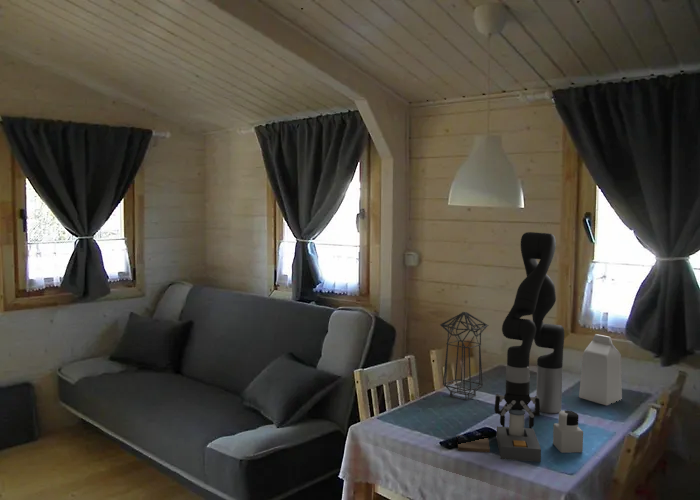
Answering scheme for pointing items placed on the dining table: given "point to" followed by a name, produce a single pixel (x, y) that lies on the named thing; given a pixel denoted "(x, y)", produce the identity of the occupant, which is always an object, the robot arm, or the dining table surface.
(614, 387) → the milk
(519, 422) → the cylinder
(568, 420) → the medicine bottle
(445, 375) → the geometric lantern
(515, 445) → the orange cardboard box
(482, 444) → the walnut pad
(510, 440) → the block
